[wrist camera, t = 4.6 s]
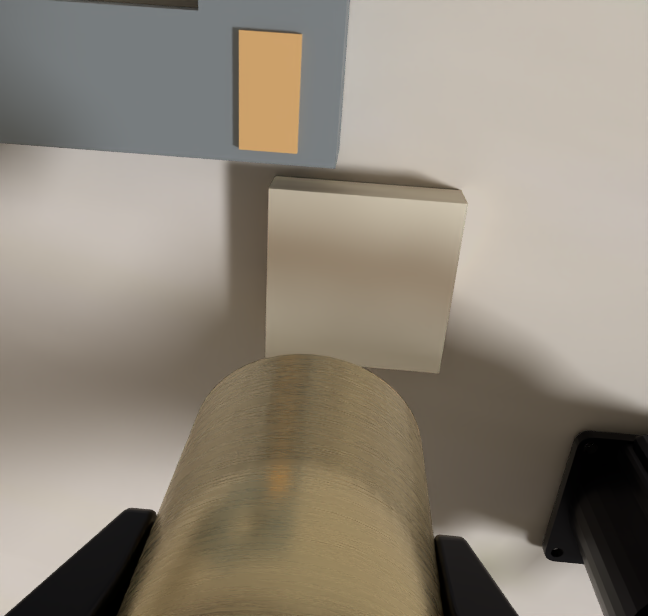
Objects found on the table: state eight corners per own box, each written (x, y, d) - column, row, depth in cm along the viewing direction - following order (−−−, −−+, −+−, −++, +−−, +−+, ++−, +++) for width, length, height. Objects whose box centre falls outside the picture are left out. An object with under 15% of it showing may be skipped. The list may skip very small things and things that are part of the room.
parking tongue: (434, 351, 22) (439, 373, 21) (271, 337, 23) (264, 358, 21) (461, 190, 20) (468, 203, 18) (275, 176, 20) (268, 188, 19)
